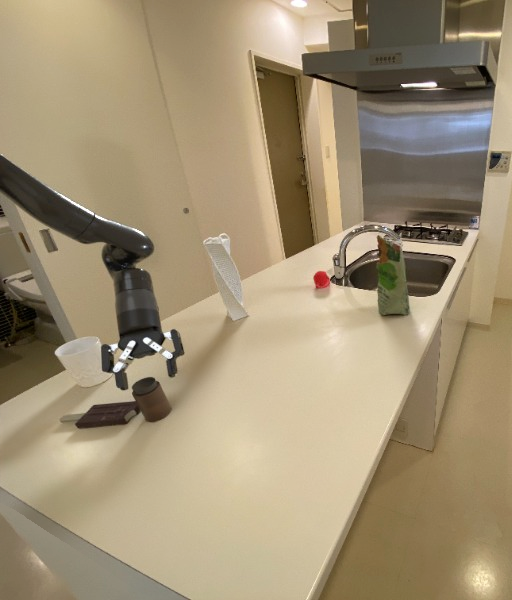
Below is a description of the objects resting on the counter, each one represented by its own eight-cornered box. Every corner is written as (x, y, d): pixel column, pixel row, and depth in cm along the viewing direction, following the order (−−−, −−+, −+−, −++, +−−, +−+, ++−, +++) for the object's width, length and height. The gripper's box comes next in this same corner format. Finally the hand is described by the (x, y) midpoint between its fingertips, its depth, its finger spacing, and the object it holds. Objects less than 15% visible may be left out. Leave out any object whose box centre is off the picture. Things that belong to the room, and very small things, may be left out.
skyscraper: (254, 315, 108) (233, 232, 95) (231, 324, 103) (206, 238, 90) (244, 307, 113) (222, 228, 100) (222, 315, 108) (196, 233, 95)
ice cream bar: (52, 431, 67) (130, 424, 68) (48, 426, 66) (127, 418, 67) (72, 412, 71) (145, 405, 73) (68, 406, 71) (142, 399, 72)
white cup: (94, 391, 77) (74, 357, 73) (66, 387, 78) (44, 354, 74) (124, 369, 84) (107, 337, 79) (98, 366, 85) (80, 335, 81)
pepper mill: (140, 423, 68) (123, 392, 64) (152, 406, 72) (137, 376, 69) (164, 420, 69) (149, 390, 65) (175, 404, 73) (162, 374, 69)
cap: (331, 289, 125) (329, 274, 122) (316, 291, 123) (313, 277, 120) (329, 281, 132) (327, 267, 129) (313, 283, 130) (311, 269, 127)
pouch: (405, 321, 103) (404, 245, 91) (369, 317, 105) (364, 242, 94) (413, 305, 112) (413, 234, 101) (380, 301, 115) (377, 232, 103)
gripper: (89, 316, 67) (98, 392, 64) (169, 300, 73) (182, 370, 69) (107, 326, 74) (116, 395, 70) (179, 311, 80) (191, 375, 76)
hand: (148, 383), depth 70 cm, fingers open, 8 cm apart
